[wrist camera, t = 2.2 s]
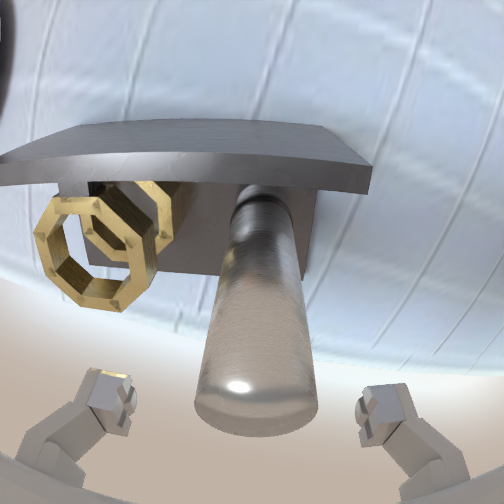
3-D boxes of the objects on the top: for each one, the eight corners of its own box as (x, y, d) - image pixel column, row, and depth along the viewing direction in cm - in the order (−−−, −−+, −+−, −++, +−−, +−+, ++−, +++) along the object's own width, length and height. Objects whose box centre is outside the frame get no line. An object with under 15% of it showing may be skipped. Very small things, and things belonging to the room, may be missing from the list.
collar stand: (321, 126, 22) (372, 166, 11) (301, 273, 28) (317, 381, 18) (75, 126, 22) (-27, 168, 11) (94, 258, 28) (32, 343, 18)
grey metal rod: (292, 183, 23) (335, 375, 8) (286, 234, 25) (307, 439, 10) (235, 179, 23) (184, 367, 8) (233, 230, 25) (196, 433, 10)
